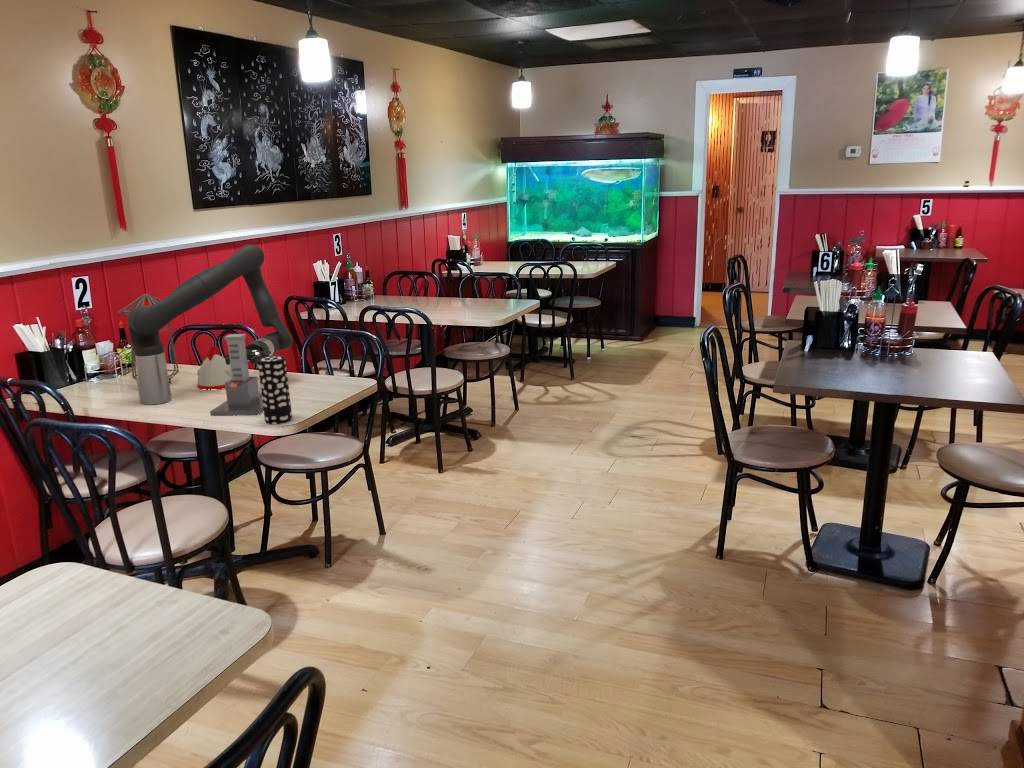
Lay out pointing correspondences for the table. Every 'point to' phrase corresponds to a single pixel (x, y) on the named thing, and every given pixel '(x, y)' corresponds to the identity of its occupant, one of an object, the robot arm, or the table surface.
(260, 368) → the white-spotted black cylinder
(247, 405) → the stand base
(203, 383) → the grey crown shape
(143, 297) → the geometric lantern
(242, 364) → the stand post
